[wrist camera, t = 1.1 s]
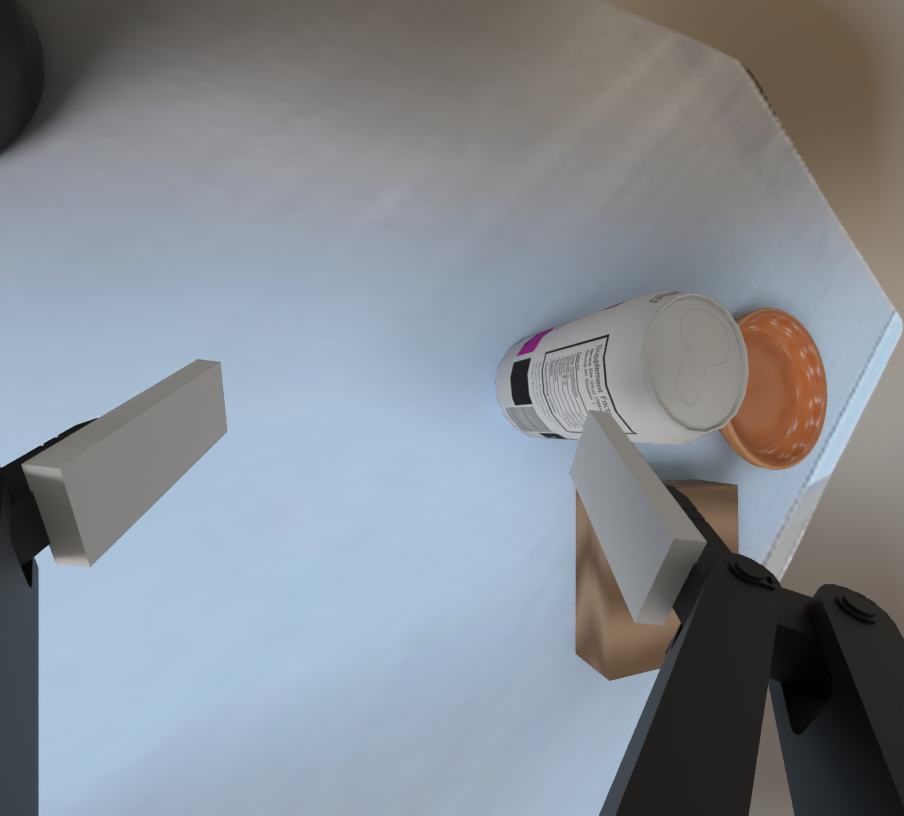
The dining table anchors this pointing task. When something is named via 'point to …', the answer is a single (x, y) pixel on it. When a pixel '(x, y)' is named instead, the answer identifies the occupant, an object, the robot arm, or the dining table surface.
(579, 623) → the podium
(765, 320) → the saucer
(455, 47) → the dining table surface
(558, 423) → the supplement can
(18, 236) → the dining table surface
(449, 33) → the dining table surface
